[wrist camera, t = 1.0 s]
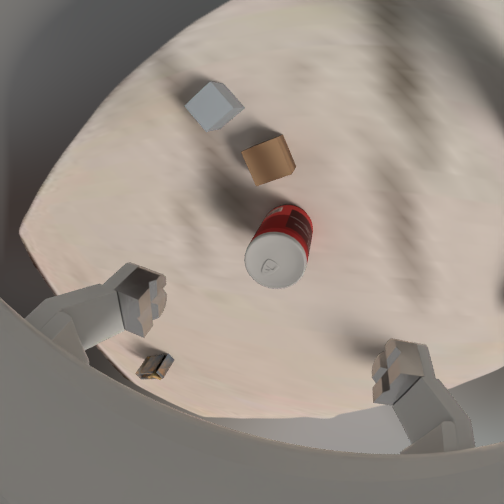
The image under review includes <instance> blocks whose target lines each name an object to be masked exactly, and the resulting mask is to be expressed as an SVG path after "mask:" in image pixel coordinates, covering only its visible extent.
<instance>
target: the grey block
mask: <svg viewBox="0 0 504 504" xmlns="http://www.w3.org/2000/svg"><path fill="white" fill-rule="evenodd" d="M185 107H186V109H187V110H188V111H189V112H190V113H191V114H192V116H193V117H194V118H195V119H196V120H197V122H198V123H199V124H200V125H201V126H202V128H203V129H204V130H205V131H206V132H208V131H213V130H218V129H221V128H222V127H223V126H224V125H225V124H226V123H228V122H229V121H230V120H231V119H232V118H234V117H235V116H236V115H237V114H238V113H240V112H241V111H242V110H243V109H245V107H244V106H243V105H242V104H241V103H240V102H239V100H238V99H237V98H236V97H235V96H234V95H233V94H232V92H231V91H230V90H229V89H228V88H227V87H226V86H225V85H224V84H221V83H216V82H211V81H210V82H209V83H208V84H207V85H206V86H205V87H203V88H202V89H201V90H200V91H199V92H198V93H197V94H196V95H195V96H194V97H193V98H192V99H191V100H190V101H189V102H188V103H187V104H186V105H185Z"/></svg>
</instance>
